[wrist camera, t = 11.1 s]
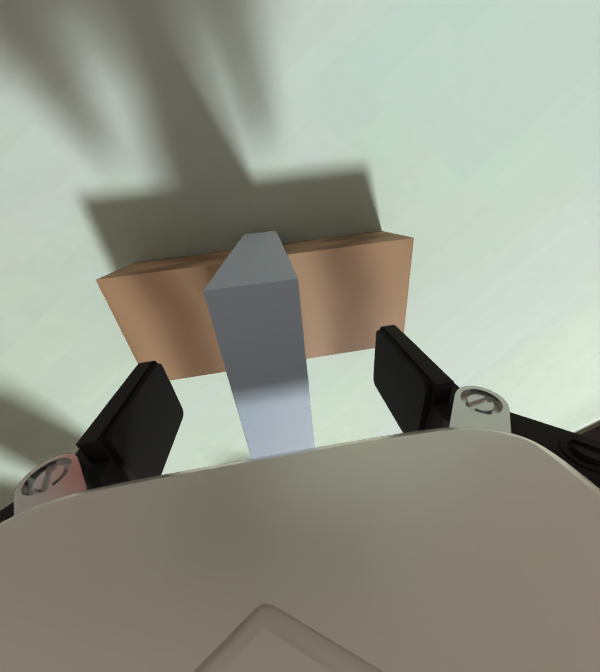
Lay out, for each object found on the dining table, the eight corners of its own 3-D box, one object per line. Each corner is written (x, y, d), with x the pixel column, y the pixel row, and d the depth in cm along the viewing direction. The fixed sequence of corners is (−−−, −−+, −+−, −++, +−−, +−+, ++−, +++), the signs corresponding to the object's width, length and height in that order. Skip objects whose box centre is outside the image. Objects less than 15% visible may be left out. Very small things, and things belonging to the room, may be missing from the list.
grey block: (276, 230, 19) (298, 278, 6) (290, 345, 23) (319, 499, 11) (244, 234, 18) (202, 291, 6) (265, 348, 23) (266, 509, 11)
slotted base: (381, 231, 21) (413, 238, 16) (377, 318, 24) (402, 343, 20) (134, 263, 19) (95, 279, 15) (170, 349, 23) (148, 383, 19)
